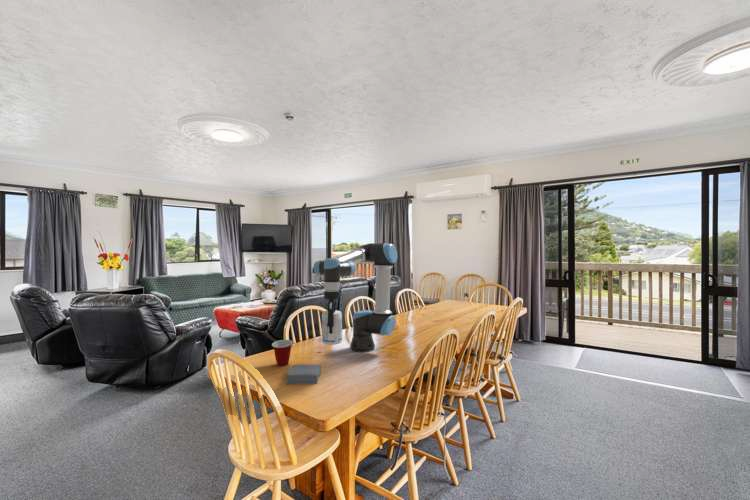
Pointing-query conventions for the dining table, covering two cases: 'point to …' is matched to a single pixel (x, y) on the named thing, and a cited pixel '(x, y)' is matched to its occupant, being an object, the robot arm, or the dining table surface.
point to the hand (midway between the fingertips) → (332, 337)
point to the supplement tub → (337, 328)
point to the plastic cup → (282, 351)
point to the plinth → (303, 374)
